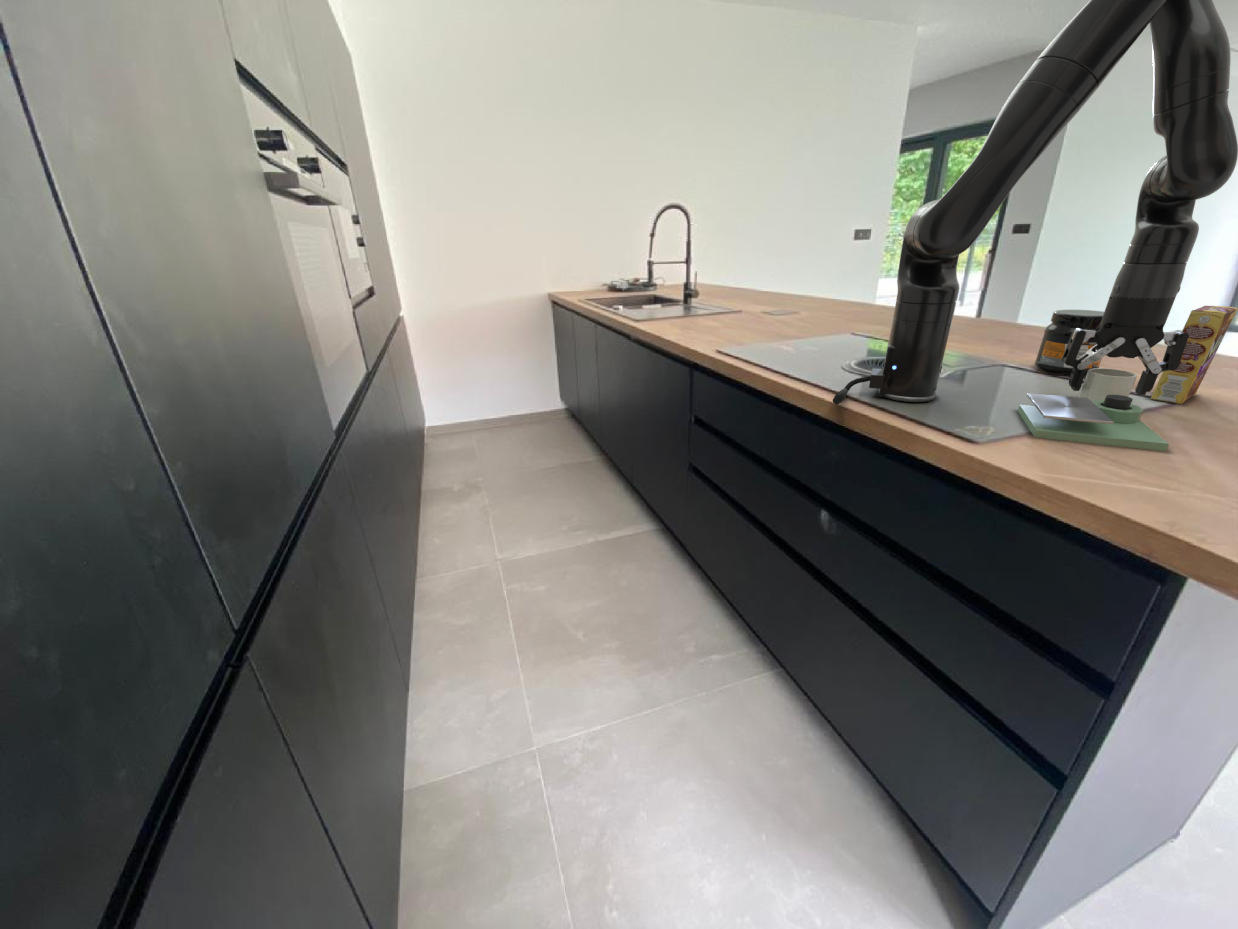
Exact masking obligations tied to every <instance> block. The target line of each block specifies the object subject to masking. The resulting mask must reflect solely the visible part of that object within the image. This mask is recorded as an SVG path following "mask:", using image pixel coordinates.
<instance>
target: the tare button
mask: <svg viewBox="0 0 1238 929" xmlns="http://www.w3.org/2000/svg"><path fill="white" fill-rule="evenodd" d="M1132 403H1133V398H1132V397H1130V396H1129V397H1127V396H1122V395H1107V396H1106V398H1105V400H1104V403H1103V406H1104V407H1107V408H1113V409H1120V410H1129V408H1130V405H1131V404H1132Z"/></svg>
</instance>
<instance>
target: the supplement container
mask: <svg viewBox="0 0 1238 929" xmlns="http://www.w3.org/2000/svg"><path fill="white" fill-rule="evenodd" d="M1104 312H1105V311H1103V310H1091V309H1058V310H1055V311H1053V313H1052V316H1051V318H1050V322H1051V323H1050V324H1048V325H1046V327H1045V328H1044V334H1043V335H1042V336H1043V337H1042V339H1041V342H1040V346H1039V348H1038V352H1037V356H1036V358H1035V360H1034V367H1035V368H1036V369H1037V370H1038V371H1041V372H1044V373H1047V374H1052V375H1058V376H1066V377H1070V376H1071V373H1072V370H1073V367H1072V366H1068V365H1066V364H1065V363H1064V362H1062V357H1063V354H1064V352H1065V349H1066V347H1067V344H1068V342H1069V339H1070V337H1071V334H1072V332H1073V330H1074V329H1076V328H1080V329H1082V330H1092V331H1095V330H1096V329H1097V328H1098V327H1099V326H1100V324H1101V320H1102V317H1103V315H1104ZM1095 345H1096V342H1095V340H1094V338H1093V337H1091V338H1089V339H1088V341H1087V342H1085V343H1082V345H1081V347H1080V350H1079V352H1078V355H1077V357H1076V359H1078V358H1080V357H1081V356H1083V355H1084V354H1085V353H1086V352H1087V351H1088V350H1089V349H1091V348H1092V347H1093V346H1095ZM1102 359H1103V357H1102V358H1101V359H1100V360H1098V361H1095V362H1093V363H1092V364H1091V365H1089V366H1088V367H1086V368H1085V370H1086V374H1085V377H1086V375H1087V372H1088V370H1089V369H1093V368H1100V365H1101V362H1102Z"/></svg>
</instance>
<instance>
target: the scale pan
mask: <svg viewBox="0 0 1238 929" xmlns="http://www.w3.org/2000/svg"><path fill="white" fill-rule="evenodd" d="M1026 397H1027V398H1028V399H1029V400H1030V402H1031V403H1032V404H1033V406H1035V407H1036V408H1037V409H1038V411H1039V412H1040V413H1041V415H1042V416H1043V417H1044V418H1051V419H1062V420H1072V421H1083V422H1093V423H1104V424H1113V423H1114V422H1113V421H1112V420H1111V419H1110V418H1109V417H1108V416H1107V415H1106V414H1105V413H1104V412H1103V411H1101V410H1100V409H1099V408H1098V407H1097V406H1096V405H1095V404H1094V403H1093V402H1092V401H1091V400H1089V399H1088V398H1082V397H1079V396H1069V395H1068V396H1067V395H1056V394H1055V395H1054V394H1042V393H1032V392H1031V393H1030V392H1028V393H1027V394H1026Z"/></svg>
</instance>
